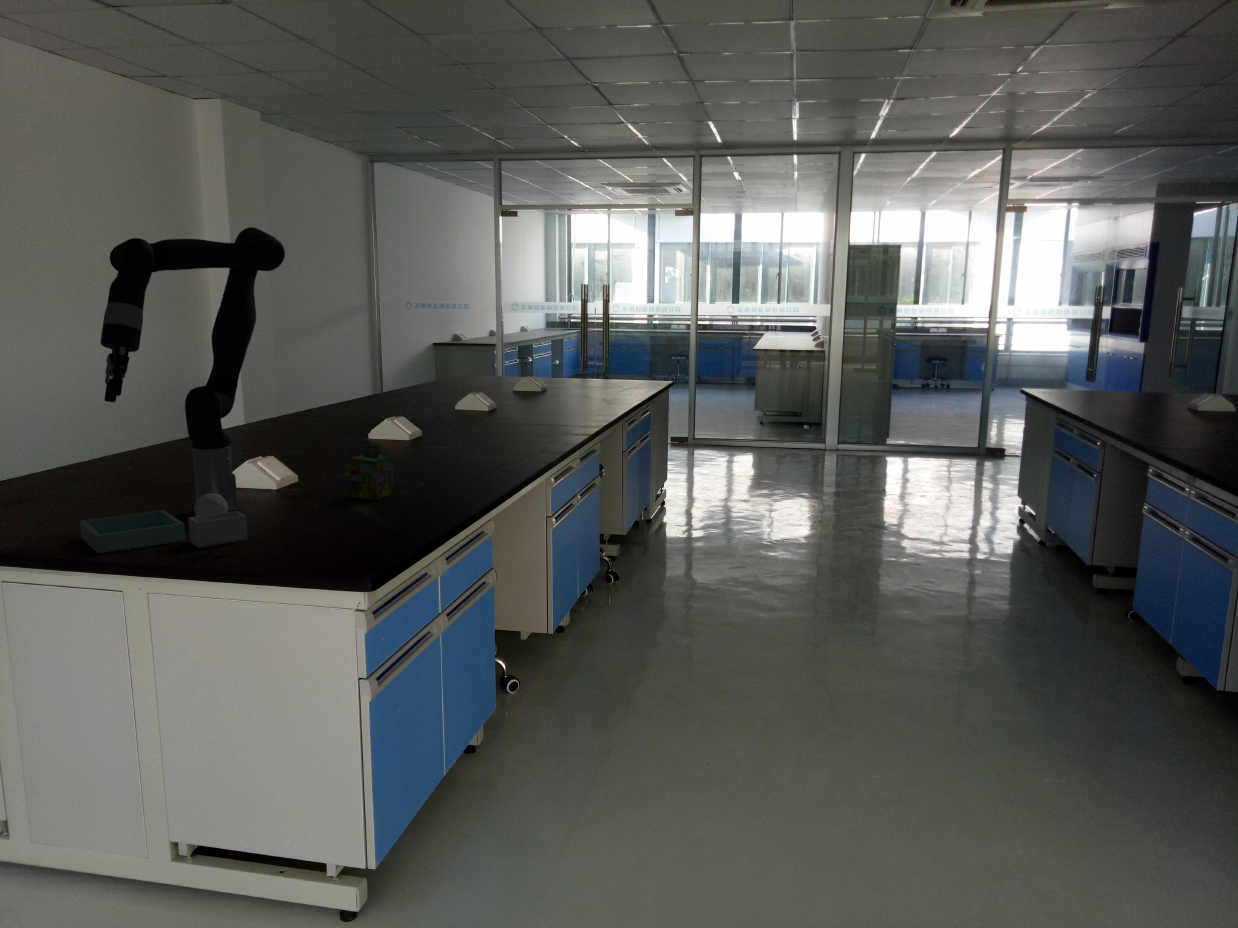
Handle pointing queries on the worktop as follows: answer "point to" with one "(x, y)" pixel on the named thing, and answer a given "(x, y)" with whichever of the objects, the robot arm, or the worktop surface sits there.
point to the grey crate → (218, 529)
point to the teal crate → (132, 531)
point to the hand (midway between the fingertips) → (112, 398)
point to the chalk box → (370, 475)
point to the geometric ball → (210, 505)
